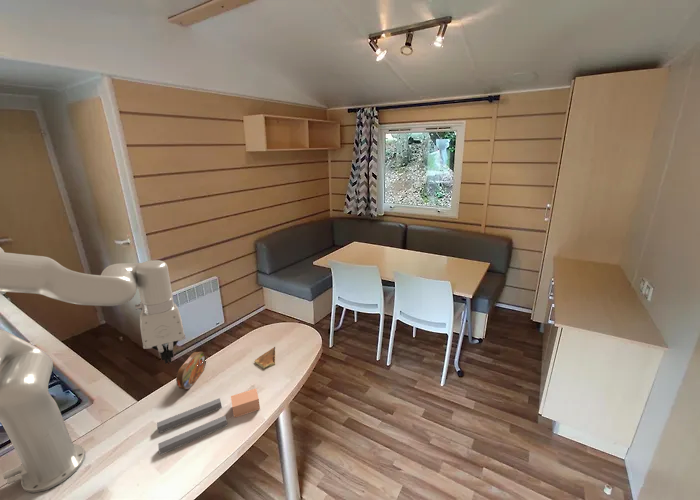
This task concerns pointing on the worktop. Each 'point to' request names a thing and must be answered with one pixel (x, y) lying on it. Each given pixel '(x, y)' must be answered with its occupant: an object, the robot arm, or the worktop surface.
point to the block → (245, 402)
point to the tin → (191, 370)
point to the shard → (266, 358)
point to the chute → (193, 433)
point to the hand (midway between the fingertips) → (168, 360)
